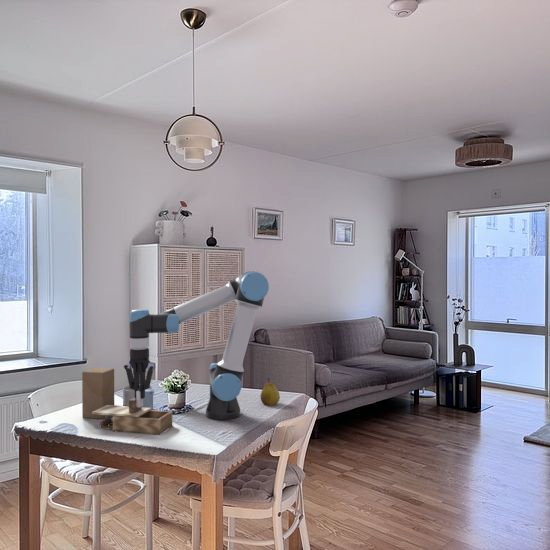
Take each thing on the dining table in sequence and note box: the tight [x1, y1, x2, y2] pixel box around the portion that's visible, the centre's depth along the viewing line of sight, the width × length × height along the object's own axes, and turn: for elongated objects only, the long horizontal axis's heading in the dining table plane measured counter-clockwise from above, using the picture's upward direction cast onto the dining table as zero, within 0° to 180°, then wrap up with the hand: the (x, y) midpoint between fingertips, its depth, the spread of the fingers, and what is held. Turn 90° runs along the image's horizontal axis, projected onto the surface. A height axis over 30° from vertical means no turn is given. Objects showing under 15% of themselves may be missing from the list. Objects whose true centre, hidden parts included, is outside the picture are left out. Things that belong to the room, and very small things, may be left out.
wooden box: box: [112, 409, 173, 436], centre depth 210 cm, size 20×12×6 cm, turn 77°
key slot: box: [99, 416, 113, 430], centre depth 213 cm, size 7×7×2 cm
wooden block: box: [81, 367, 115, 420], centre depth 229 cm, size 10×10×20 cm
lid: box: [92, 397, 151, 417], centre depth 212 cm, size 20×11×6 cm, turn 77°
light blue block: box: [142, 389, 155, 410], centre depth 225 cm, size 5×3×12 cm, turn 77°
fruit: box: [260, 377, 281, 407], centre depth 248 cm, size 9×9×12 cm
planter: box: [122, 385, 153, 406], centre depth 237 cm, size 13×13×10 cm
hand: (139, 406), depth 211 cm, fingers closed
